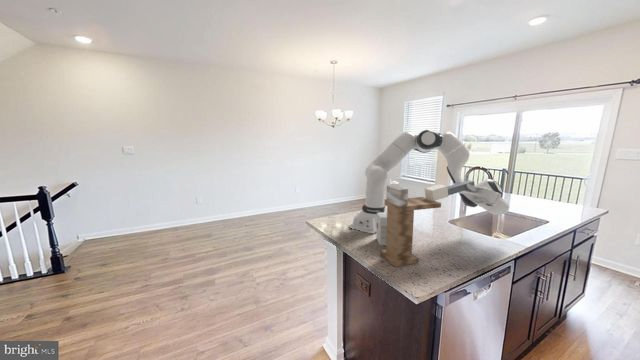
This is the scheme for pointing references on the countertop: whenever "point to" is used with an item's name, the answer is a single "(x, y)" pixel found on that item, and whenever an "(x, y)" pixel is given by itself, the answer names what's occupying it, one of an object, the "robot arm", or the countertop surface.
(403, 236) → the stand
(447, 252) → the countertop surface
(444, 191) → the grey and white bar
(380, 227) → the supplement box
